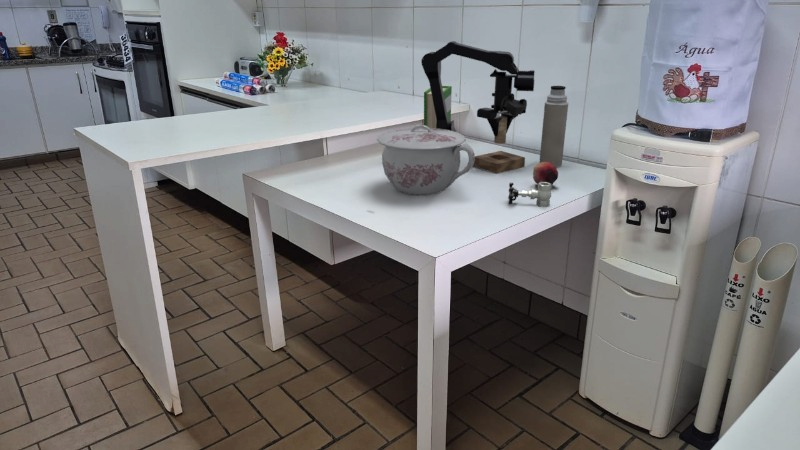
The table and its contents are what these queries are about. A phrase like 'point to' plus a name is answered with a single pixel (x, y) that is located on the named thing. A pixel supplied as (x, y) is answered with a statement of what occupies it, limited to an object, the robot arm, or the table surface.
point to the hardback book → (429, 106)
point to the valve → (533, 194)
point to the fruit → (545, 173)
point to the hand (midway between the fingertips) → (500, 135)
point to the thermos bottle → (554, 126)
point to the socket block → (499, 162)
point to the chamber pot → (423, 158)
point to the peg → (501, 131)
